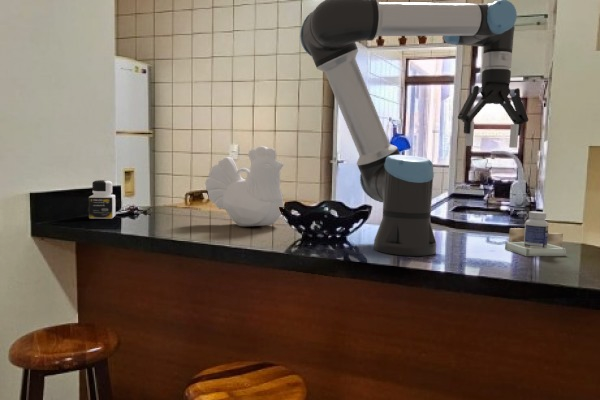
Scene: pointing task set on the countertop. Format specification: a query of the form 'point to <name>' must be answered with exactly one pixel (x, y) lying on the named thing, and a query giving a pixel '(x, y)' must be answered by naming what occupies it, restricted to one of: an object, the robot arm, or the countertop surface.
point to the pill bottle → (536, 230)
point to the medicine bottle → (102, 200)
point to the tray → (535, 250)
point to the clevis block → (519, 234)
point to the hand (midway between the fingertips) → (491, 146)
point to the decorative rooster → (248, 188)
